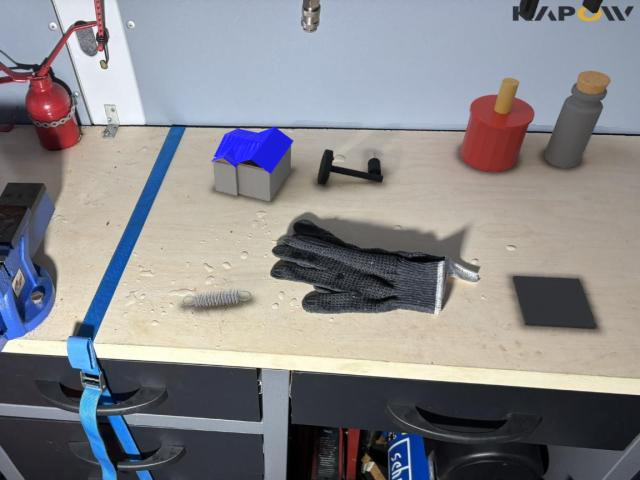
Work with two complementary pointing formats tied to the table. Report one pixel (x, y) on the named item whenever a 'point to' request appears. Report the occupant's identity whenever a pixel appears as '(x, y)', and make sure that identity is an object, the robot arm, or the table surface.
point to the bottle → (577, 120)
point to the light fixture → (327, 167)
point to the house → (252, 162)
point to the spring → (217, 298)
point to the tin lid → (503, 108)
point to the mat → (553, 302)
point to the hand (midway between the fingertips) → (557, 12)
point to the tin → (491, 146)
